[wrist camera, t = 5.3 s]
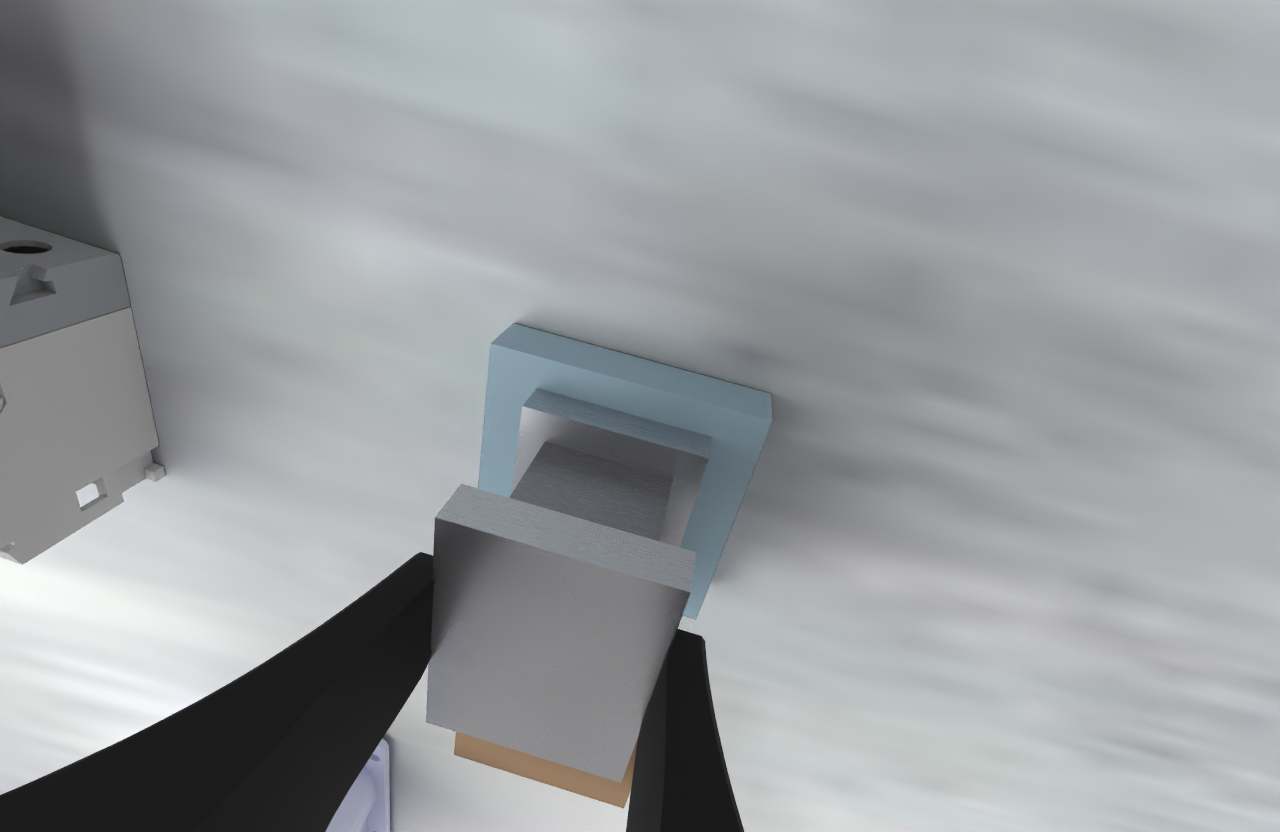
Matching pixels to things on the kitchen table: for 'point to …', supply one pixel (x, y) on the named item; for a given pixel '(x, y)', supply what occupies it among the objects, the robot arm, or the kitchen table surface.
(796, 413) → the kitchen table surface
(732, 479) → the stand
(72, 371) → the circuit breaker
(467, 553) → the i-beam
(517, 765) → the stand
